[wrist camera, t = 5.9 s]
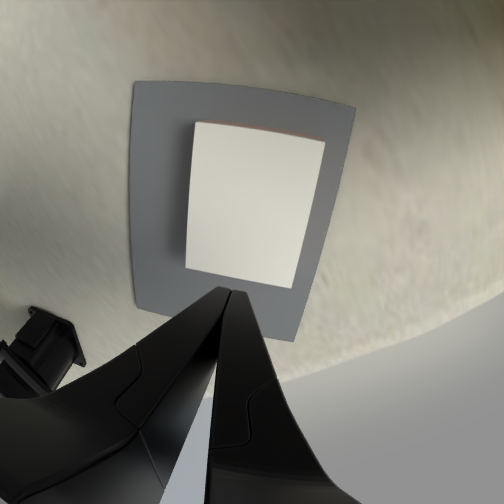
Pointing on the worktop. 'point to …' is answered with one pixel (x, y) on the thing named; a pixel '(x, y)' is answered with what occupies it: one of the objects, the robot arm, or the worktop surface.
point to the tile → (250, 200)
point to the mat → (178, 185)
